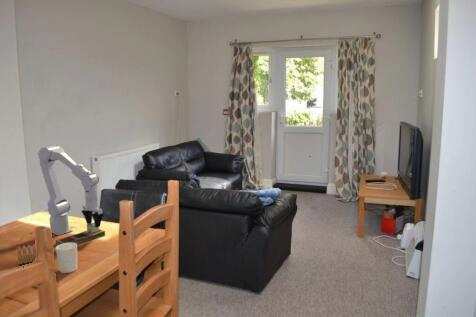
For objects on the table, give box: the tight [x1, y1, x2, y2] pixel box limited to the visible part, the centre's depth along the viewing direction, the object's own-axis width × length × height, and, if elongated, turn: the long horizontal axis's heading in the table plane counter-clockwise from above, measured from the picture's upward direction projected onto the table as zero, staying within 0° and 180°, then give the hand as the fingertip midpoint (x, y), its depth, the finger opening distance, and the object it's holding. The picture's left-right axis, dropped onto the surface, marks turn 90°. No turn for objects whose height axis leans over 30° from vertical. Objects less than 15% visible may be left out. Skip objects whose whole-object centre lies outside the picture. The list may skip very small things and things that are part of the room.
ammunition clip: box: [17, 243, 37, 266], centre depth 160 cm, size 11×2×12 cm, turn 117°
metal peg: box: [86, 222, 100, 234], centre depth 200 cm, size 4×4×6 cm
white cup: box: [55, 242, 78, 274], centre depth 163 cm, size 8×8×10 cm
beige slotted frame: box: [55, 228, 106, 246], centre depth 196 cm, size 8×21×2 cm, turn 141°
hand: (93, 225), depth 200 cm, fingers open, 7 cm apart
